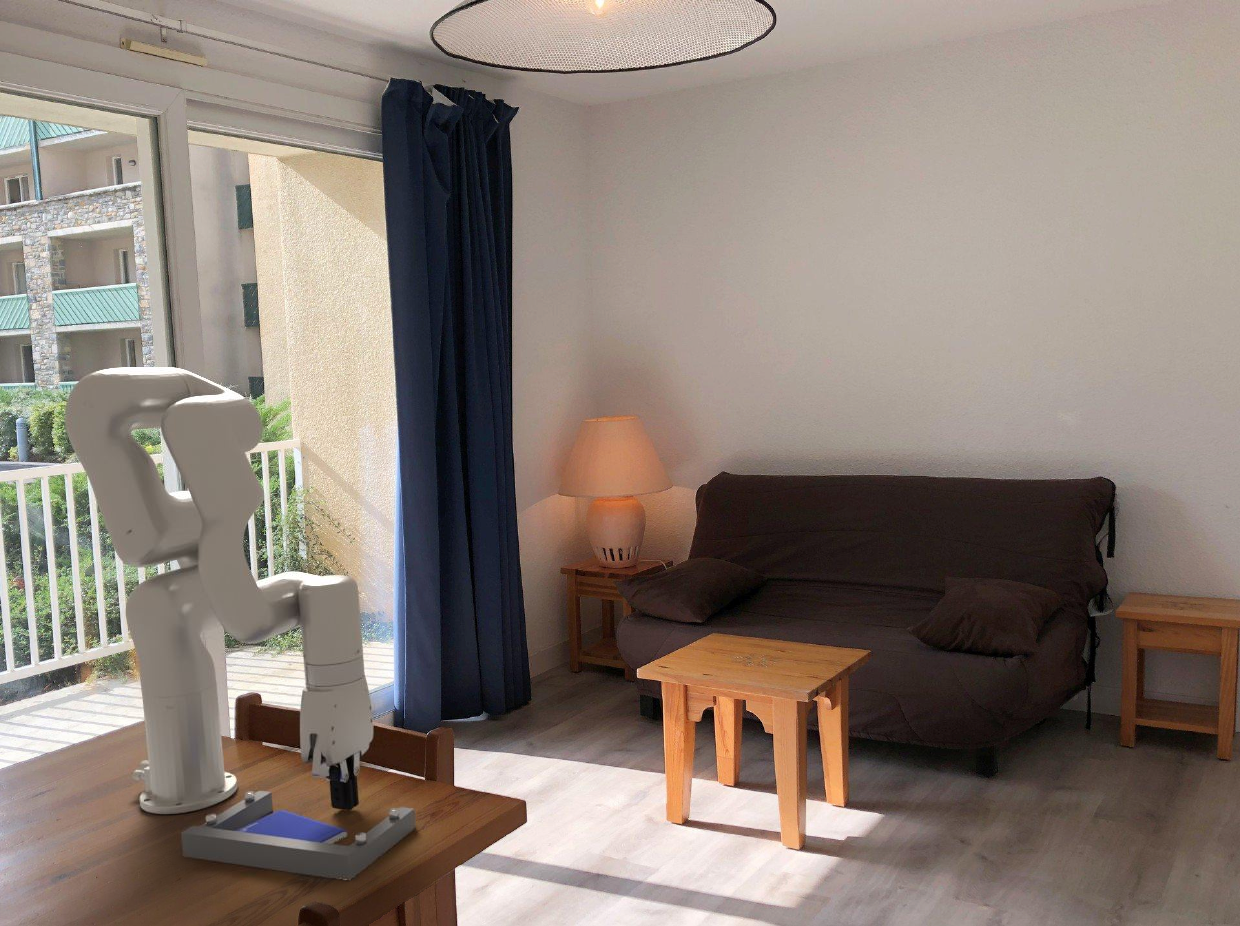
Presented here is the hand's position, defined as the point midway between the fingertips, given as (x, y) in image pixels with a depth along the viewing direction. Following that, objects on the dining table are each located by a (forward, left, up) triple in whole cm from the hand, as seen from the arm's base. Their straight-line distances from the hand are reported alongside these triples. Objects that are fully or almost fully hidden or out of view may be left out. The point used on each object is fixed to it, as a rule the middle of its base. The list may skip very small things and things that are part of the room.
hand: (345, 806), depth 136 cm
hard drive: (-2, -9, -1) cm, 9 cm away
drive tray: (0, -9, -1) cm, 9 cm away
